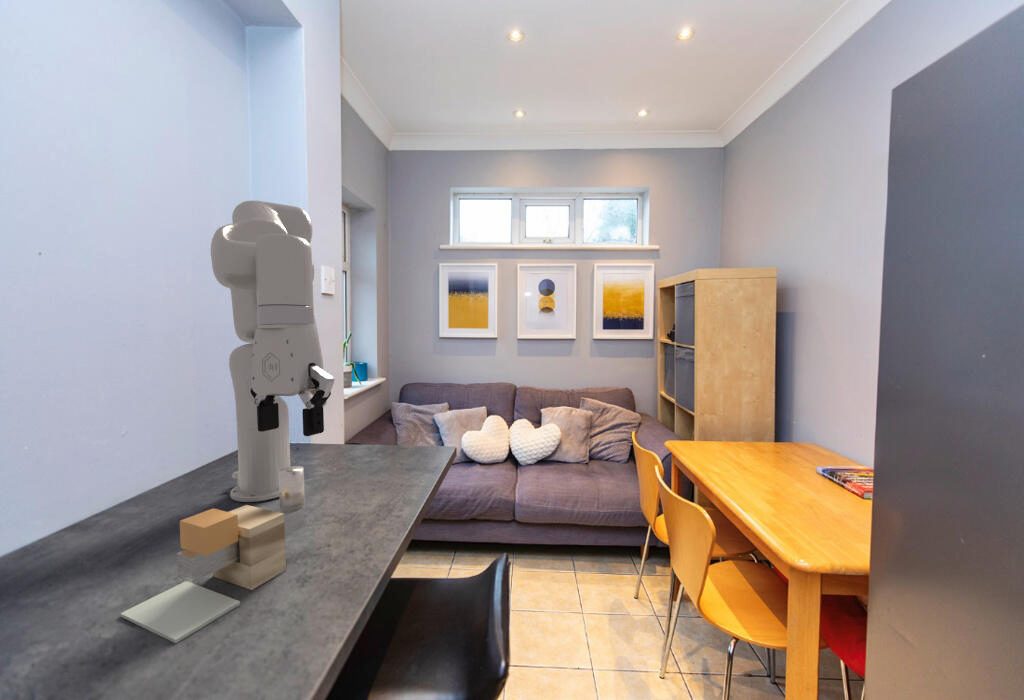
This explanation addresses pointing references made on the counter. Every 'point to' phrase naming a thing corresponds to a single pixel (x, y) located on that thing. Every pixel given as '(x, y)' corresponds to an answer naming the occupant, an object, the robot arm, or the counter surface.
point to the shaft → (200, 566)
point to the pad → (180, 611)
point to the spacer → (208, 531)
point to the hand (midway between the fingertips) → (290, 431)
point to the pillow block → (257, 548)
